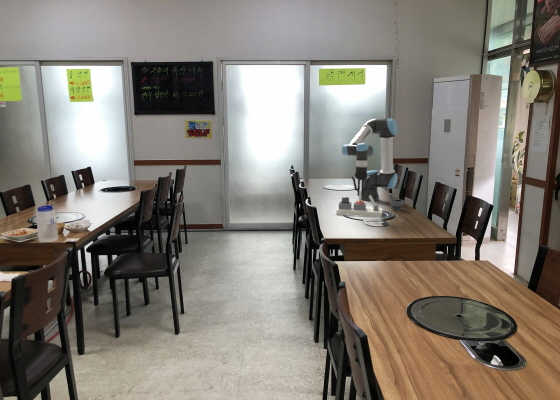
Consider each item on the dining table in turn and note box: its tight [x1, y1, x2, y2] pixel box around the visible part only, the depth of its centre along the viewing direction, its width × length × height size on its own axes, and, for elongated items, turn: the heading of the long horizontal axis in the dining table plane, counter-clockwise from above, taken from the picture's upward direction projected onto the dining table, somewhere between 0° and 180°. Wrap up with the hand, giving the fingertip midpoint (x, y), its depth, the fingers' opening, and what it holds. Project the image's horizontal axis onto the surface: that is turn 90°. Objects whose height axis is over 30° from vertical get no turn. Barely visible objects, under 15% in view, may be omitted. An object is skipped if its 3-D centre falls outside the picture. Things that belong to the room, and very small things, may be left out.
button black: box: [341, 196, 350, 204], centre depth 313 cm, size 5×5×5 cm
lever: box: [369, 196, 377, 207], centre depth 308 cm, size 4×1×10 cm, turn 166°
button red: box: [355, 199, 365, 204], centre depth 311 cm, size 5×5×5 cm
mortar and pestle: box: [387, 192, 405, 212], centre depth 323 cm, size 11×9×12 cm
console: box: [335, 200, 383, 218], centre depth 311 cm, size 16×30×7 cm, turn 76°
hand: (360, 200), depth 310 cm, fingers closed
